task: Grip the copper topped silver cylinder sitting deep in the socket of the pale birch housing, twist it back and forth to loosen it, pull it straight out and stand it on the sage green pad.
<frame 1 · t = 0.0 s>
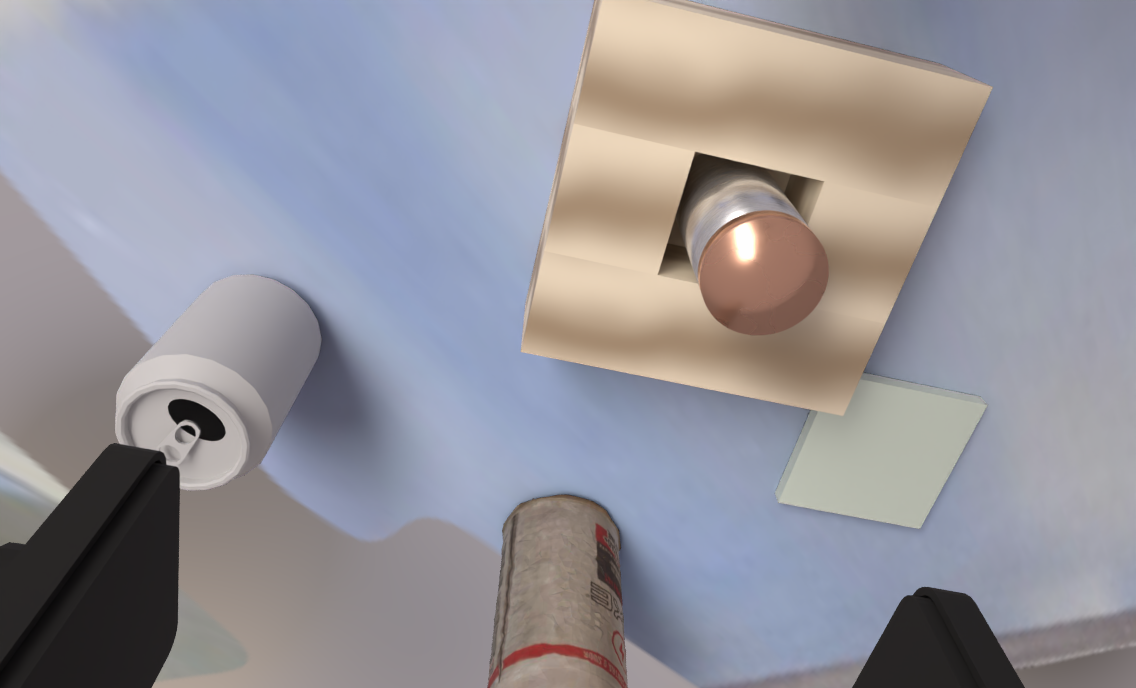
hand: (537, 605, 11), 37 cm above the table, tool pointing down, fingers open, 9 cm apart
spray can: (561, 536, 58), on the table
housing: (718, 191, 46), on the table
can: (262, 324, 50), on the table
pad: (874, 446, 54), on the table
copper topped silver cylinder: (721, 197, 45), point 1 cm above the table, touching housing
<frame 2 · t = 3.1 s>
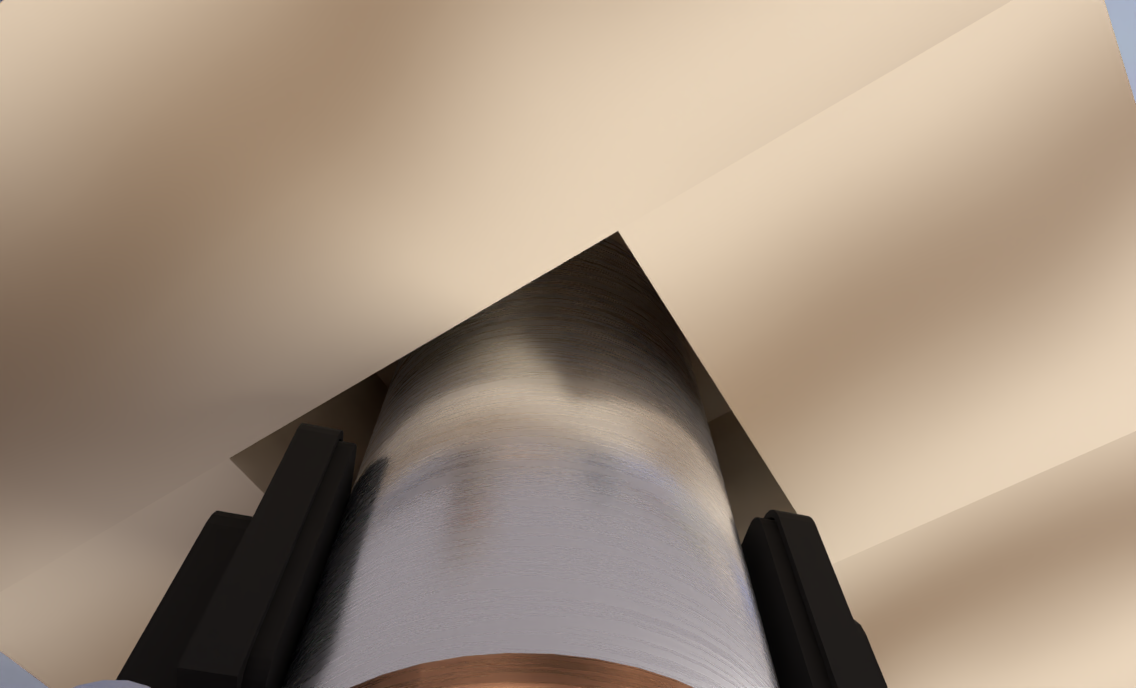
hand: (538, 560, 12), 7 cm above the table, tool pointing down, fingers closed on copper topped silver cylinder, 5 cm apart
housing: (548, 329, 18), on the table
copper topped silver cylinder: (547, 351, 17), point 1 cm above the table, touching gripper, housing
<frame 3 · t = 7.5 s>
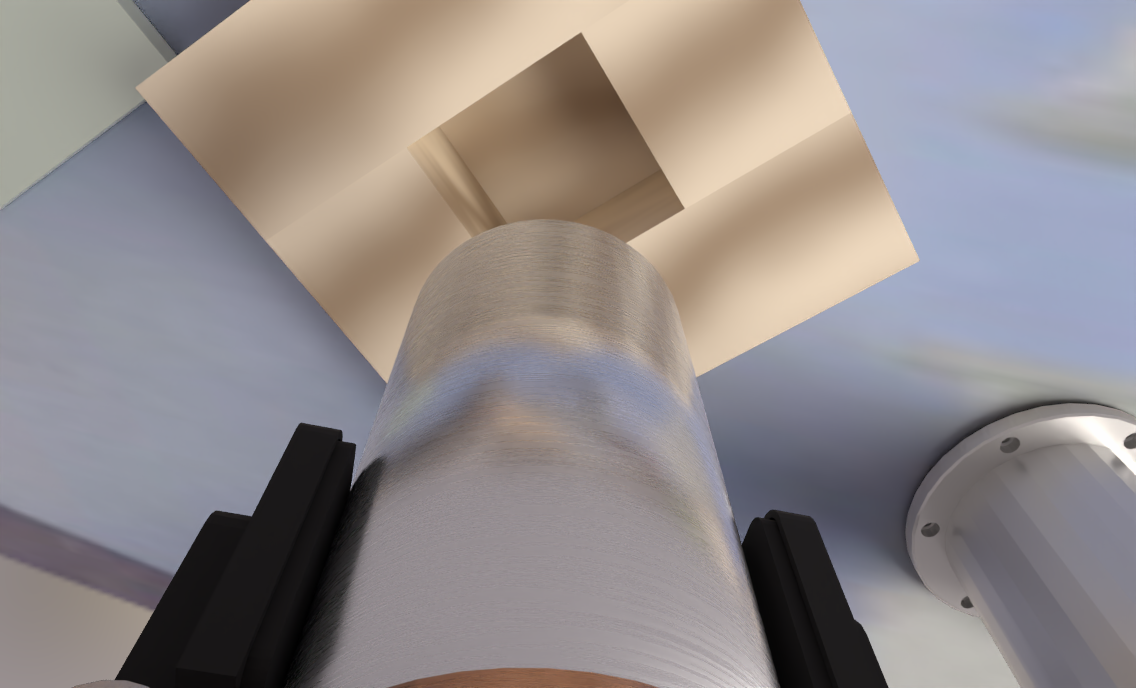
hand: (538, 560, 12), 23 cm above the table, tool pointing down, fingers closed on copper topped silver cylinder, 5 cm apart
housing: (550, 131, 32), on the table
copper topped silver cylinder: (545, 348, 17), point 17 cm above the table, touching gripper
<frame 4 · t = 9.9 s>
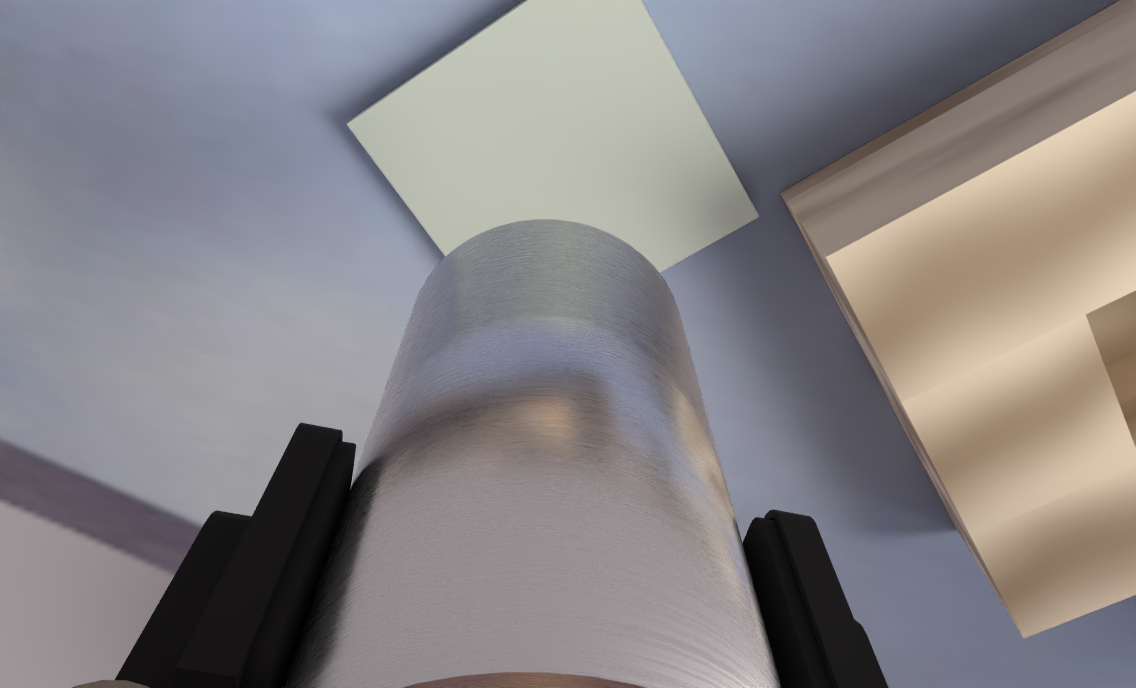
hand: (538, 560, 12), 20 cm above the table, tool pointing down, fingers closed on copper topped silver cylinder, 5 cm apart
housing: (1108, 267, 31), on the table
pad: (558, 163, 29), on the table
copper topped silver cylinder: (546, 348, 17), point 14 cm above the table, touching gripper
when the fingers open (8 cm above the table, at t = 12.2 s): copper topped silver cylinder drops 1 cm, resting on pad.
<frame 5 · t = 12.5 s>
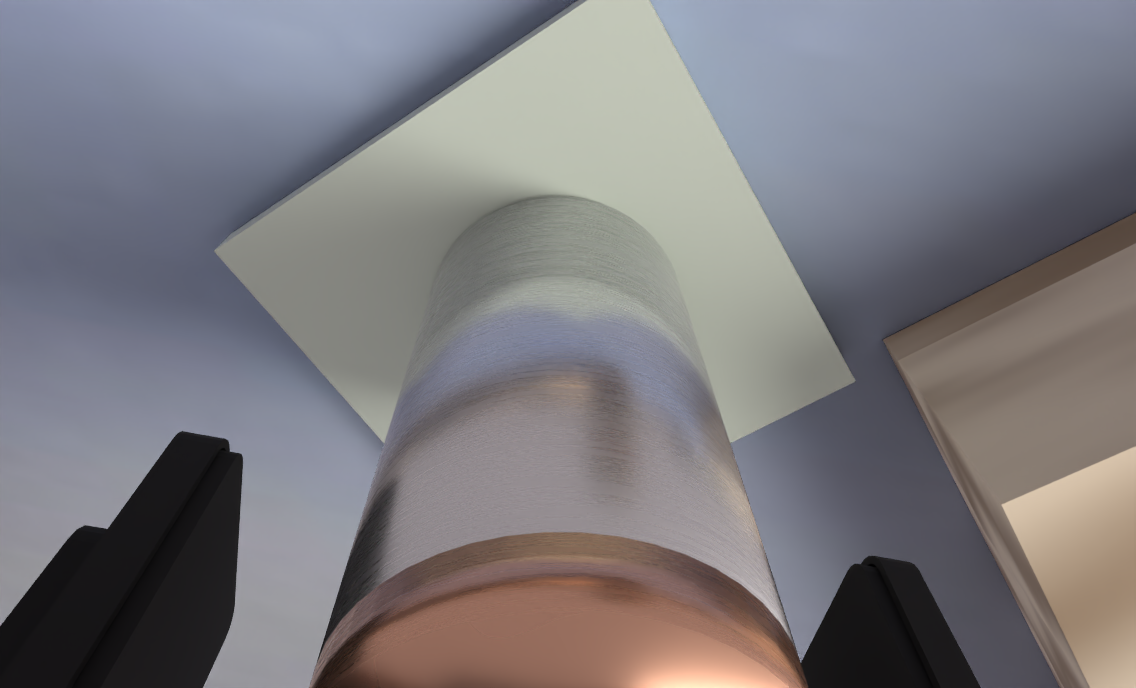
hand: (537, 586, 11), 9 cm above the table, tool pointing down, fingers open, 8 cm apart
pad: (549, 299, 19), on the table
copper topped silver cylinder: (556, 316, 18), point 1 cm above the table, touching pad
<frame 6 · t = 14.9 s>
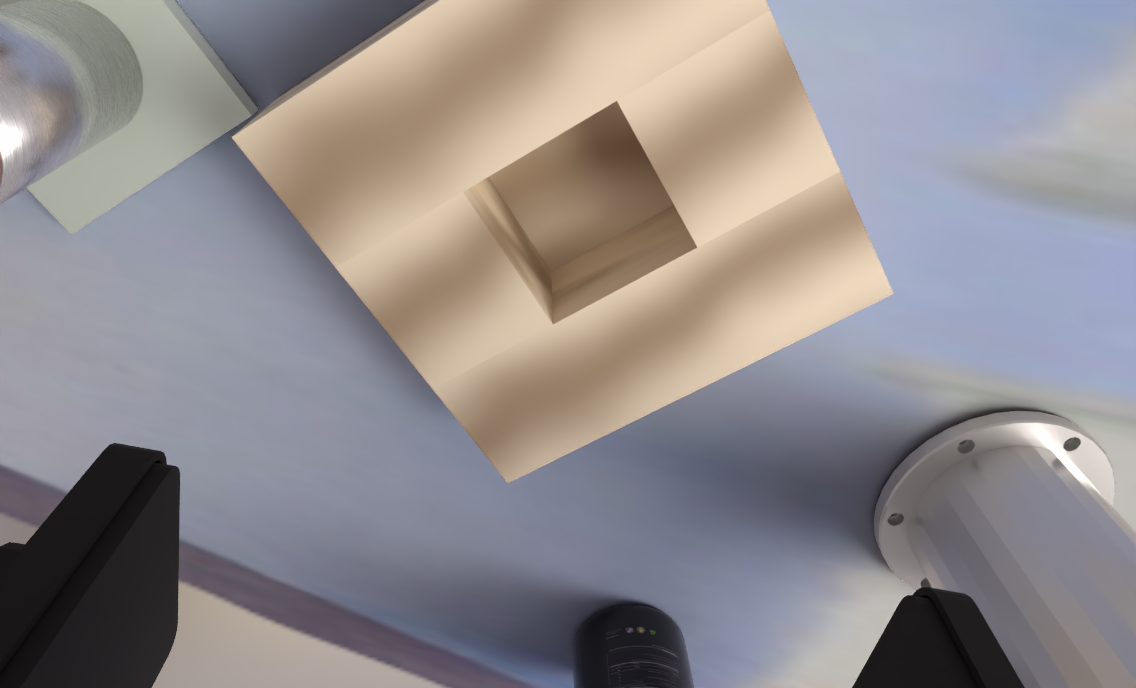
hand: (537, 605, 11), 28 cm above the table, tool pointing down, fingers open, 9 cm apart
supplement bottle: (627, 637, 51), on the table
housing: (576, 170, 36), on the table
pad: (79, 66, 34), on the table
copper topped silver cylinder: (71, 69, 33), point 1 cm above the table, touching pad
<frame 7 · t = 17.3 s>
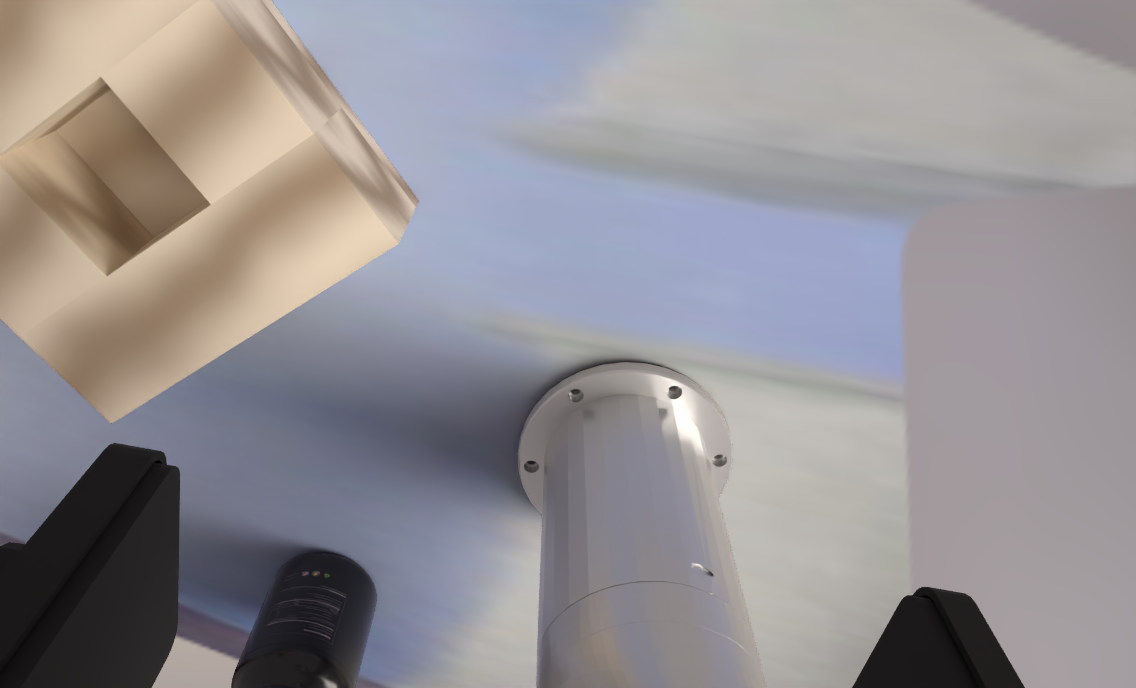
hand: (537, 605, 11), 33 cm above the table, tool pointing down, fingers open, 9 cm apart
supplement bottle: (328, 585, 55), on the table
housing: (162, 145, 41), on the table
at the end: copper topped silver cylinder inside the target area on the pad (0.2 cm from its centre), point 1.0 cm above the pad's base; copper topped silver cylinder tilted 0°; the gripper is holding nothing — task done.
